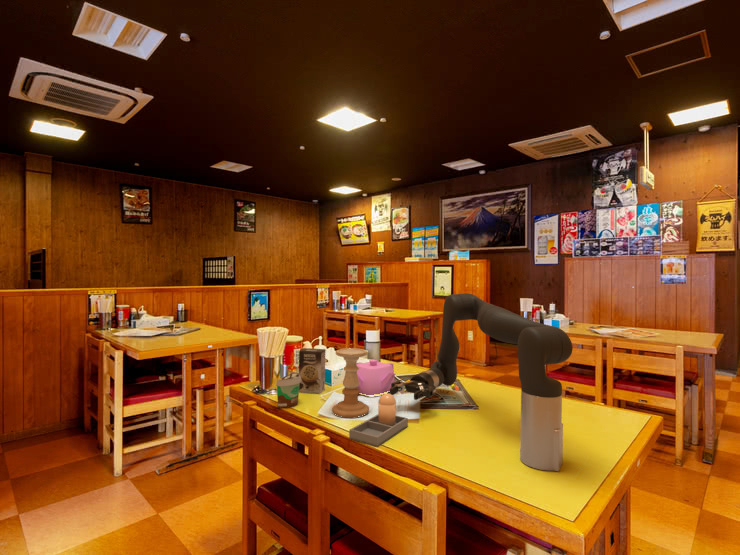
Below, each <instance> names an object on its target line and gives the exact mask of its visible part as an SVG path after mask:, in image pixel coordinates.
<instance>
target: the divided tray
mask: <svg viewBox="0 0 740 555" xmlns="http://www.w3.org/2000/svg"><path fill="white" fill-rule="evenodd" d="M408 427H409V418H408V417H406V416H405V417H404V416H402V415H401V416H400V415H396V425H394V426H388V425H384V424H381V423H378V413H377V414H376V415H374V416H372V417H371V418H368V419H367V420H365V421H363V422H361V423H360V424H357V425H356V426H354V427H352V428H350V429H349V432H348V434H349V435H348V439H349V440H353V441H356V442H359V443H363V444H365V445H369V446H372V447H376V448H378V447H379V446H381V445H383V444H384V443H385V442H387V441H389V440H390V439H392V438H393V437H395V436H396V435H398V434H400V432H402V431H403V430H405V429H406V428H408Z"/></svg>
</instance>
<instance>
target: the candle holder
mask: <svg viewBox="0 0 740 555" xmlns="http://www.w3.org/2000/svg"><path fill="white" fill-rule="evenodd" d="M367 354H368V351H367V350H366V349H363V348H356V347H355V348H353V347H352V348H349V347H347V348H340V349H337V350H335V355H336V356H338V357H340V358H343V360H344V361H345V363H346V364H345V366H344V367H343V370H344V372H345V374H344V378H343V380H342V385H343V387H344V388H343V389H342V390H341V391H342V392H341V394H343V400H341V401H339V402H337V403H336V404H334V405H333V406H332V408H331V409H332V410H331V412H332V414H333V413H334V414H333V415H335V414H336V415H338V416H337V417H339V416H342V417H341V418H344V417H357V418H359V417H358V416H362V415H364V414H367V413H368V412H369V413H370V406H369V405H368V404H366V403H364V402H363V401H361V400H359V397H358V396H359V395H360V394H359V393H360V390H359V389H358V388H357V387H358V386H359V380H358V376H357V371H358V370H359V368H358V367H357V365H356V363H358V360H360V358H361V357H362V358H363V357H365V356H367ZM369 413H368V414H369ZM368 414H367V415H368ZM336 415H335V416H336ZM362 417H363V416H362Z"/></svg>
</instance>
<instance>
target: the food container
mask: <svg viewBox="0 0 740 555" xmlns="http://www.w3.org/2000/svg"><path fill="white" fill-rule="evenodd" d="M301 381H302V380H301V376H300V374H299V372H295V371H289V374H288V375H286V376H284V377H282V378H281V379H276V382H275V383H276V385H275V386H276V388H277V389H276V390H277V392H276V394H277V409H290V408H291V409H292V408H294V407H296V406H297V405H298V404H299V397H300V396H299V394H300V392H299V384H300V382H301Z"/></svg>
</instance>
